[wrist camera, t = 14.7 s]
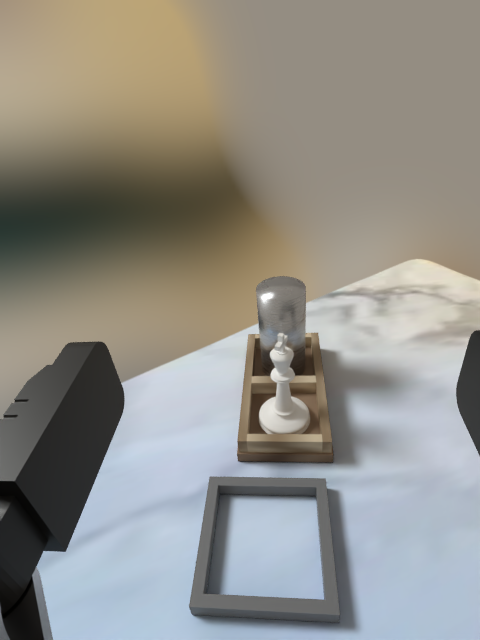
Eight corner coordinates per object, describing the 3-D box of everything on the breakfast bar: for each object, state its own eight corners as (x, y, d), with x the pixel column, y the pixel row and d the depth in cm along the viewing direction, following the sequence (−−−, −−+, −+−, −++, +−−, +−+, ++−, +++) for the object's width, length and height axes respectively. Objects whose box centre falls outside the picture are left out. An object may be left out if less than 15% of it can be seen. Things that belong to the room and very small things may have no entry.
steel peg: (304, 352, 47) (304, 275, 42) (306, 380, 43) (306, 300, 38) (262, 352, 48) (257, 277, 42) (261, 381, 44) (254, 302, 38)
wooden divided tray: (318, 348, 49) (319, 331, 48) (333, 462, 36) (334, 443, 34) (248, 349, 50) (247, 333, 49) (238, 461, 37) (235, 443, 35)
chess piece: (317, 408, 40) (319, 324, 34) (298, 446, 36) (297, 360, 31) (271, 394, 42) (266, 313, 36) (249, 428, 39) (240, 344, 33)
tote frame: (325, 487, 34) (325, 478, 33) (338, 622, 26) (339, 615, 25) (211, 485, 35) (209, 476, 34) (192, 614, 27) (189, 606, 27)
